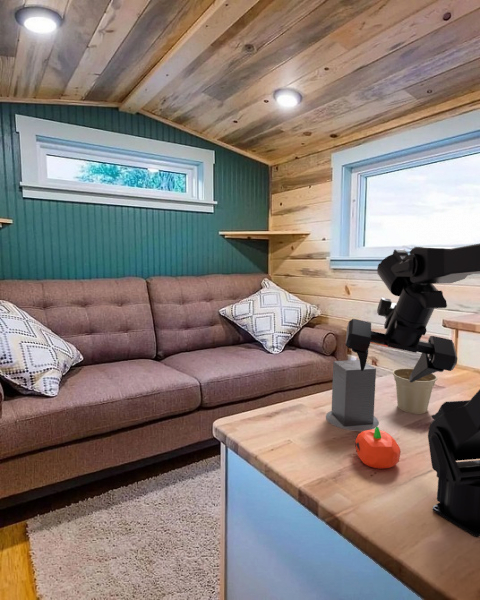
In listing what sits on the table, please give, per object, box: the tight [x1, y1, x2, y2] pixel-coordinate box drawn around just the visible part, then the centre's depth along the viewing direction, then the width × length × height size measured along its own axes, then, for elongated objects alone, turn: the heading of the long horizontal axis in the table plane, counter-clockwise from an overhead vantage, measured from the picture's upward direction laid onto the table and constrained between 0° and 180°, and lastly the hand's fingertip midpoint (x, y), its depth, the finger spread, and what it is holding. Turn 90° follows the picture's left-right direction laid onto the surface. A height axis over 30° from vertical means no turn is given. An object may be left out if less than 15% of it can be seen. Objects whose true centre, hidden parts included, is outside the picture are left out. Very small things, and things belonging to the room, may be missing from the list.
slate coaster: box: [325, 410, 380, 432], centre depth 86 cm, size 11×11×1 cm
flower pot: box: [392, 367, 438, 415], centre depth 92 cm, size 9×9×9 cm
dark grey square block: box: [331, 359, 377, 427], centre depth 86 cm, size 6×6×12 cm
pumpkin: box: [354, 426, 402, 470], centre depth 69 cm, size 7×8×6 cm
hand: (385, 374), depth 78 cm, fingers open, 9 cm apart
